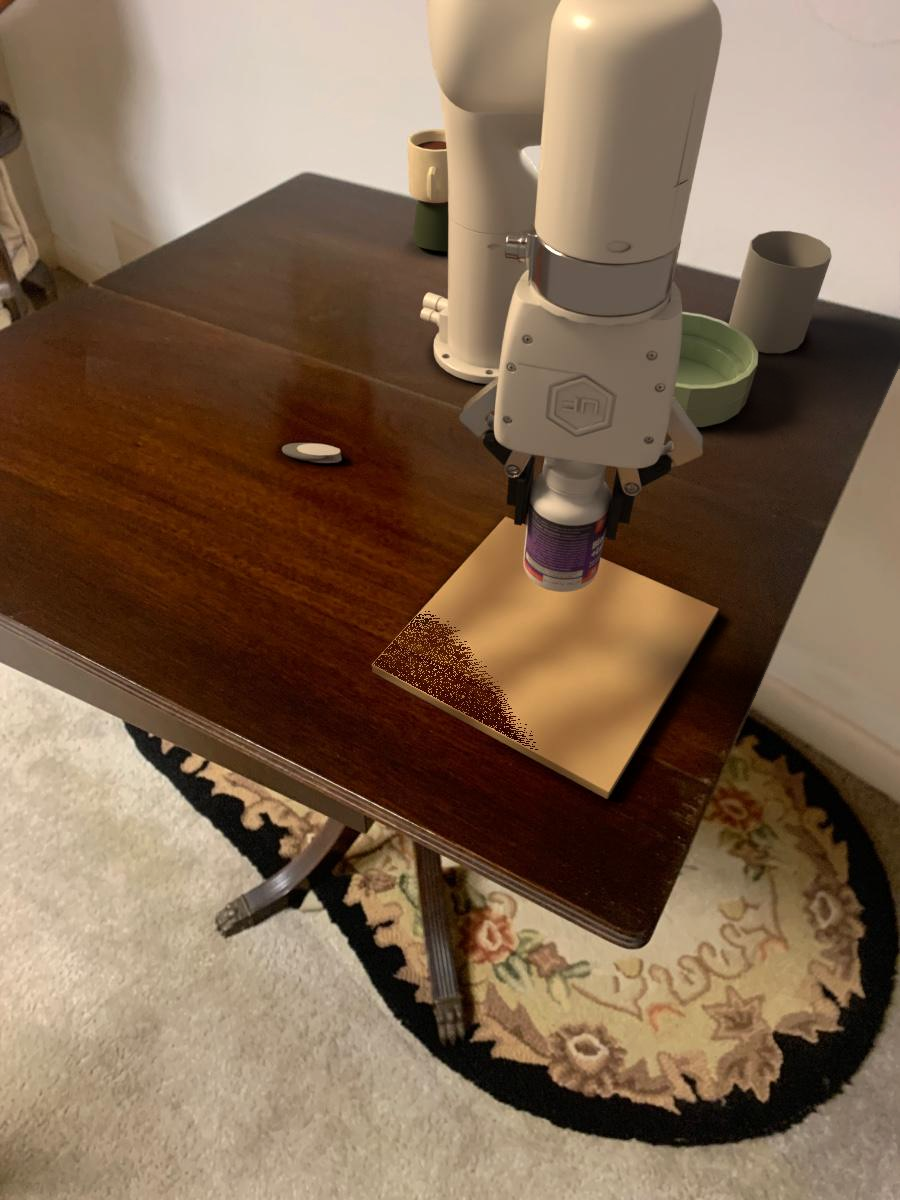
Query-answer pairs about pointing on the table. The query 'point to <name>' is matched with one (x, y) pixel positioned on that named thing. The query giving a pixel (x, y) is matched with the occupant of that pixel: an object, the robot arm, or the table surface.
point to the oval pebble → (313, 452)
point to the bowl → (713, 369)
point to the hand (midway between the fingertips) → (567, 517)
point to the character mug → (429, 188)
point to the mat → (564, 655)
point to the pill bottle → (566, 524)
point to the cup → (779, 289)
